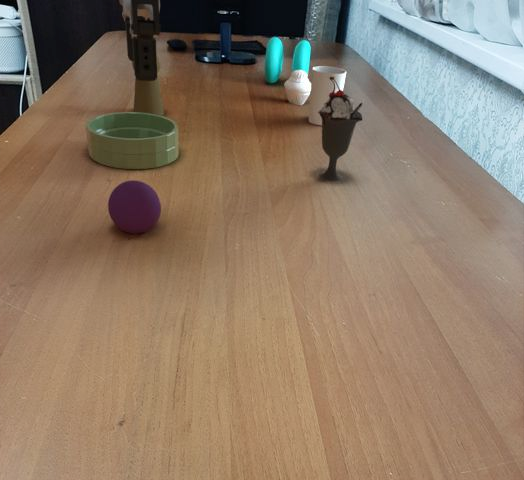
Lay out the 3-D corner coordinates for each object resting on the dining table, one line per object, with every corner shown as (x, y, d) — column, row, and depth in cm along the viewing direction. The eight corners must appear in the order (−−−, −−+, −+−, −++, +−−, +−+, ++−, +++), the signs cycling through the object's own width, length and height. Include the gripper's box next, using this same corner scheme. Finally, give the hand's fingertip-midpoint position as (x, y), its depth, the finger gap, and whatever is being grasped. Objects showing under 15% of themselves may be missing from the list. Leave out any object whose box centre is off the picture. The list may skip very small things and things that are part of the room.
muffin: (279, 104, 125) (282, 69, 120) (287, 98, 129) (290, 64, 125) (306, 108, 123) (310, 73, 119) (313, 102, 128) (317, 68, 124)
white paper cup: (334, 130, 112) (342, 75, 106) (302, 125, 114) (308, 70, 108) (341, 122, 117) (349, 69, 111) (310, 116, 119) (317, 64, 113)
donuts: (303, 91, 135) (308, 44, 129) (262, 86, 136) (265, 39, 130) (307, 82, 143) (312, 37, 137) (268, 77, 144) (271, 33, 138)
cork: (167, 119, 110) (166, 56, 104) (136, 120, 108) (132, 56, 102) (160, 110, 115) (158, 49, 108) (130, 111, 113) (126, 49, 106)
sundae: (302, 172, 93) (314, 72, 84) (339, 170, 95) (354, 72, 86) (319, 188, 88) (334, 84, 79) (358, 185, 90) (376, 83, 81)
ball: (130, 247, 69) (126, 197, 65) (100, 229, 72) (94, 180, 68) (172, 232, 73) (170, 184, 69) (141, 215, 76) (138, 168, 72)
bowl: (124, 179, 85) (121, 145, 82) (72, 152, 93) (68, 120, 90) (196, 160, 94) (196, 129, 91) (143, 136, 101) (141, 107, 98)
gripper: (86, -129, 55) (102, 54, 65) (91, -134, 45) (109, 86, 55) (163, -121, 57) (168, 56, 67) (186, -124, 47) (187, 87, 57)
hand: (141, 69), depth 61 cm, fingers open, 8 cm apart
